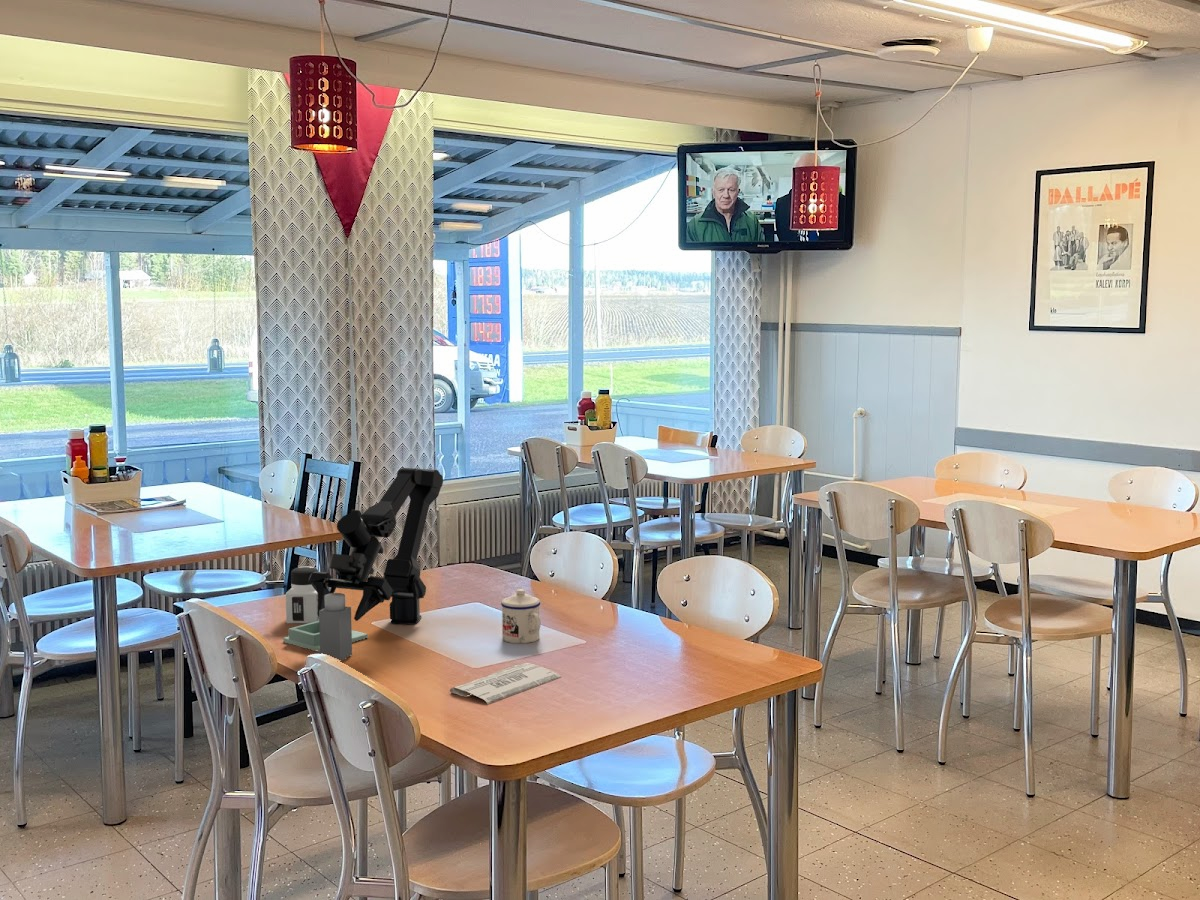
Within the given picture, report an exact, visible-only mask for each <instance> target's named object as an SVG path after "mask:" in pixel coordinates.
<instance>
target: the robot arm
mask: <svg viewBox="0 0 1200 900" xmlns="http://www.w3.org/2000/svg"><path fill="white" fill-rule="evenodd" d="M396 472H397V473H396V477H395V478H394V480H393V481H392V483H390V485H389V487H388V489H387V490H386V491H385V493H384V494H383V496H382V497H381V499H380V500H379V502H377V503H376V504H374V505H371V506H369V507H368V508H367V509H366V510H365V511H364V512H363V513H362V512H361V510H360V509H351V511H350V513H348V514H345V515H343V516H342V517H341V518H340V519H338V521H337V524H336V529H337V531H338V532H339V534H340V535H341V536H342V538H343V540H344V541H345V543H346V544H347V545H348V547H350V548H352V549H351V551H350V554H340V553H339V554H338V553H332V555H331V559H330V564H329V569H331V570H332V569H333V570H335V571H336V572H335V574H336V576H337V577H339V578H333V577H332V576H331V574H330V572H327V571H318V572H317V571H315V572H313V573H312V574H311V575H310V578H309V580H308V581H309V582H310V584H311V585H312V586H313V588H314V589H315V590H316V591H317V593H318V612H317V615H318V616H319V610H322V609H324V608H325V598H324V596H325V595H327V594H331V593H336V589H344V590H352V591H355V590H356V591H362V597H361V599H360V602H359V603H358V606H357V609H356V611H355V614H354V617H353V620H354V621H356V622H358V621H359V620H360V619H362V618H363V617H364V616H365V615H366V614H367V613H368V612H370V611H371V610H372V609H373V608H375V607H376V606H378V605H379V604H380V603H382V604H383V603H384V602H385V601H390V600H391V601H390V603H389V619H390V624H400V625H406V624H407V625H408V624H409V625H417V624H418V623H419V621H420V620H421V619H420V618H422V615H421V614H420V613H421V612H420V608H421V605H420V599H424V598H425V596H426V591H427V587H426V585H425V583H424V582H423V580H422V579H421V569H420V566H419V562H418V555H419V552H420V551H419V550H420V547H421V543H422V538H423V534H424V529H425V526H426V522H427V517H428V512H429V508H430V505H431V504H432V503H433V502H434V501H435V500H436V499H437V498H438V497H439V494H440V491H441V489H442V486H443V485H444V477H443V475H442V474H441V473H440V471H439V470H438V469H429V468H427V469H426V468H416V467H415V468H414V467H401V468H398V470H397V471H396ZM408 497H409V504H408V508H407V511H406V512H407V513H406V517H405V521H404V526H403V530H402V532H401V538H400V542H399V545H398V550H397V554H396V555H395V556H394V558H388V559H387V561H386V564H385V570H384V572H383V576H374V572H375V569H374V568H373V566H374V564H375V561H376V559H377V556H378V554H384V548H383V546H382V542H381V541H379V539H378V538H384V539H385V538H389V537H390V536H391V535H392V533H393V532H394V530H395V528H396V525H397V518H396V516H397V515H398V512H399V511H400V509H402V508H401V507H402V506H403V505H404V503H406V502H405V501H406V500H407V498H408ZM370 575H371V576H370Z"/></svg>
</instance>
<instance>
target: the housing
mask: <svg viewBox="0 0 1200 900" xmlns="http://www.w3.org/2000/svg"><path fill="white" fill-rule="evenodd" d="M287 630H288V636H285V637H284V636H283V638H282V639H283V643H285V644H286V643H287V644H289V645H292V644H293V645H294V646H295V647H296V646H297V647H301V648H303V649H307V648H308V649H307V650H310V649H312V651H314V650H318V651H316V652H317V653H320V630H319V621H316V622H312V623H303V624H301V625H297V626H294V627H291V628H288V629H287ZM368 637H369V634H368V633H366V632H362V631H361V632H360V631H356V630H353V629H352V642H353V643H356V642H355V641H357V642H359V641H358V640H360V641H362V640H361V639H363V640H366V639H365V638H367V639H369V638H368ZM293 645H292V646H293Z"/></svg>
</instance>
